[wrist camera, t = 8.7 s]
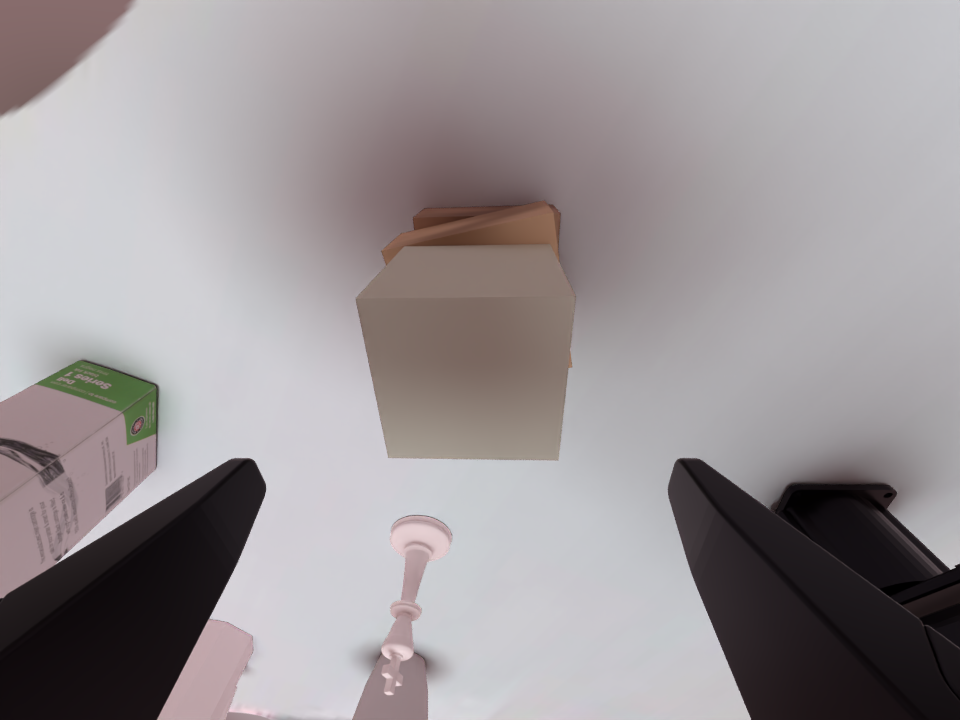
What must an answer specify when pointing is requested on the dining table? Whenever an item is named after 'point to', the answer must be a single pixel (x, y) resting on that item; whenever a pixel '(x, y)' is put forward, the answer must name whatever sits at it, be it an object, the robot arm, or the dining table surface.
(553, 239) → the tower top
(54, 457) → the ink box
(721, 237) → the dining table surface
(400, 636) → the chess piece
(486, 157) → the dining table surface
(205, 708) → the mug
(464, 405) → the cube
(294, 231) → the dining table surface
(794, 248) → the dining table surface
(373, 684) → the cup
